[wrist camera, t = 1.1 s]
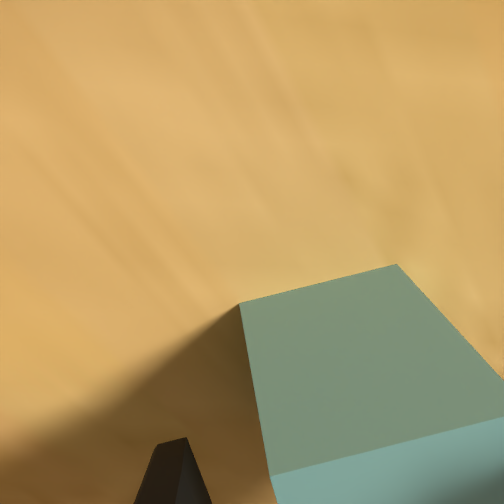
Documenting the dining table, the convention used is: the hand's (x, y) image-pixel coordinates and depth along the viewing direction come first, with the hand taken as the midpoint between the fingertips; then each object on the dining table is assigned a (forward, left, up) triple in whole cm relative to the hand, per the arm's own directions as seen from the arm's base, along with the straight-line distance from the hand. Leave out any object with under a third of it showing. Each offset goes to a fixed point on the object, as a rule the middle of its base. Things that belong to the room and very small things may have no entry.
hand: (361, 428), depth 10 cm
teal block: (0, 0, -3) cm, 3 cm away
